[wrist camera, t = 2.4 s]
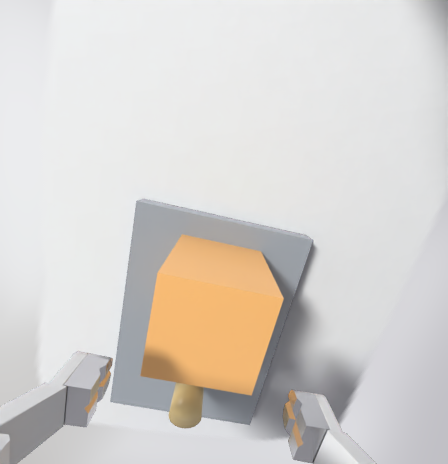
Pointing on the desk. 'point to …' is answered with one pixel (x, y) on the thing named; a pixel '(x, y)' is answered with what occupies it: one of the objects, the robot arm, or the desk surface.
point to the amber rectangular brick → (211, 316)
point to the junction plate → (141, 298)
